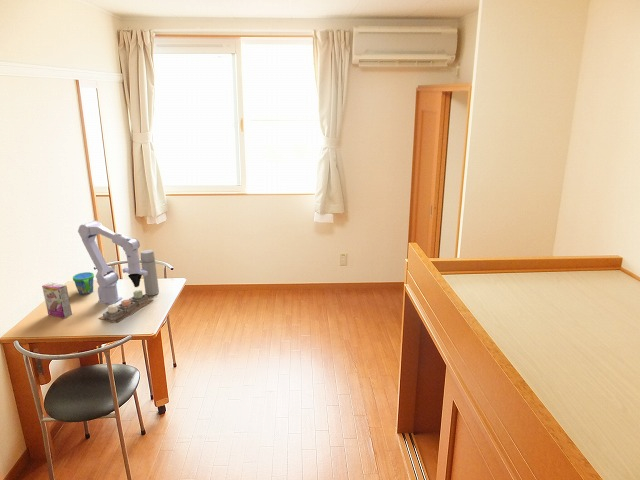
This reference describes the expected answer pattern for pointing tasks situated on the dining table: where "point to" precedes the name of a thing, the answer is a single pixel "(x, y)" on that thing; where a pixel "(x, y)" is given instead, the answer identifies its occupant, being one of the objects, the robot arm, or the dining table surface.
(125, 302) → the terracotta button
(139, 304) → the button board
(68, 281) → the dining table surface
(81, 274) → the snack cup
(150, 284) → the water bottle
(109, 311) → the cream button
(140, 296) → the sage button
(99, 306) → the dining table surface
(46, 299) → the candy bar box
